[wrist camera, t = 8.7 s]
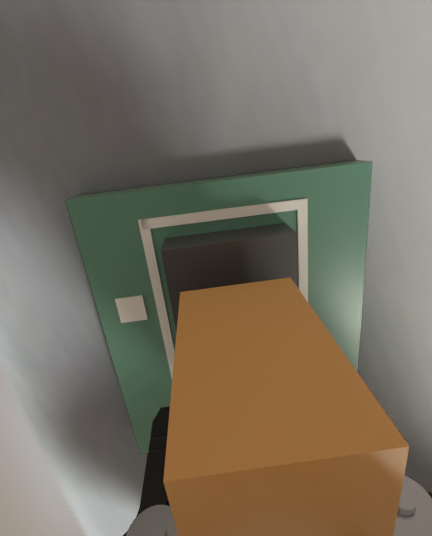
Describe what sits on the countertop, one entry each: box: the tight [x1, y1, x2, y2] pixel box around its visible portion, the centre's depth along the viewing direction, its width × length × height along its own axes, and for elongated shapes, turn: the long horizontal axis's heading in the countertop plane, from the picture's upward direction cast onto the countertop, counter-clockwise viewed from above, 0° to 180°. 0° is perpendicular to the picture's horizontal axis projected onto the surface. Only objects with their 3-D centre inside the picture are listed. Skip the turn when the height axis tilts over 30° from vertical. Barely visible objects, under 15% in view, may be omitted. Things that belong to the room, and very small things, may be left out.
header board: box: [65, 160, 372, 454], centre depth 13 cm, size 12×14×6 cm
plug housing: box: [163, 277, 410, 536], centre depth 9 cm, size 4×8×6 cm, turn 7°
